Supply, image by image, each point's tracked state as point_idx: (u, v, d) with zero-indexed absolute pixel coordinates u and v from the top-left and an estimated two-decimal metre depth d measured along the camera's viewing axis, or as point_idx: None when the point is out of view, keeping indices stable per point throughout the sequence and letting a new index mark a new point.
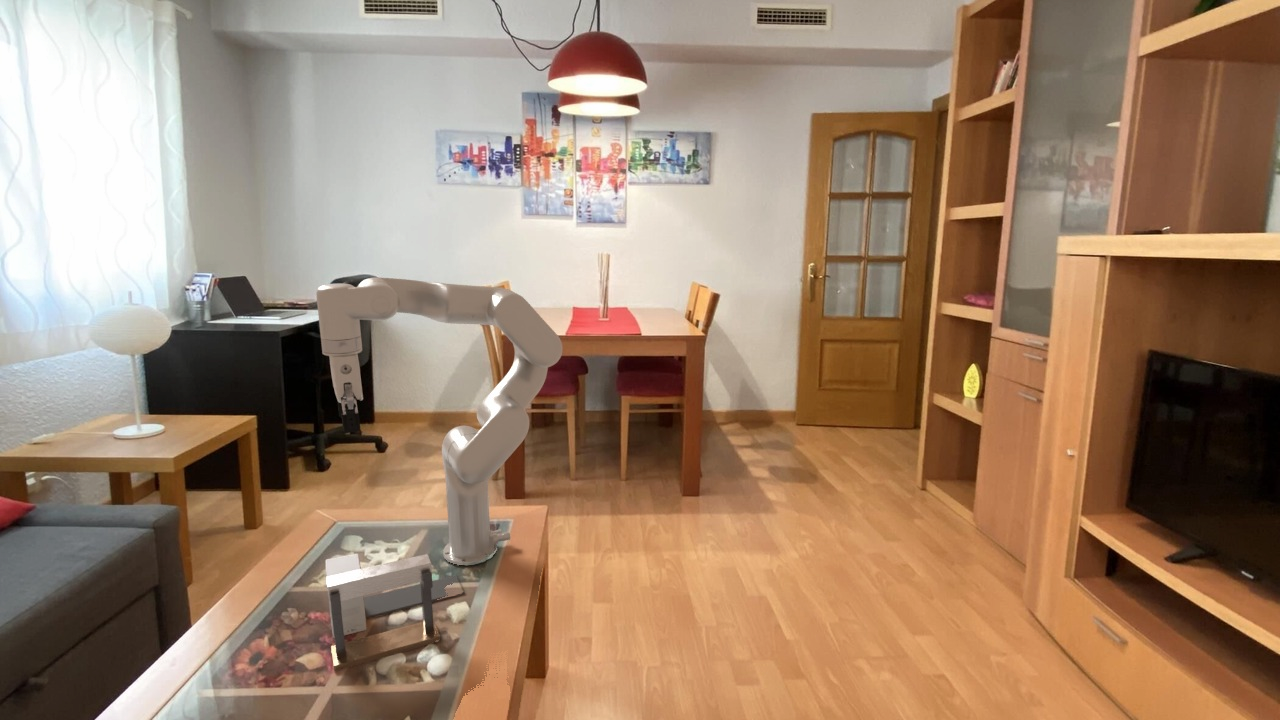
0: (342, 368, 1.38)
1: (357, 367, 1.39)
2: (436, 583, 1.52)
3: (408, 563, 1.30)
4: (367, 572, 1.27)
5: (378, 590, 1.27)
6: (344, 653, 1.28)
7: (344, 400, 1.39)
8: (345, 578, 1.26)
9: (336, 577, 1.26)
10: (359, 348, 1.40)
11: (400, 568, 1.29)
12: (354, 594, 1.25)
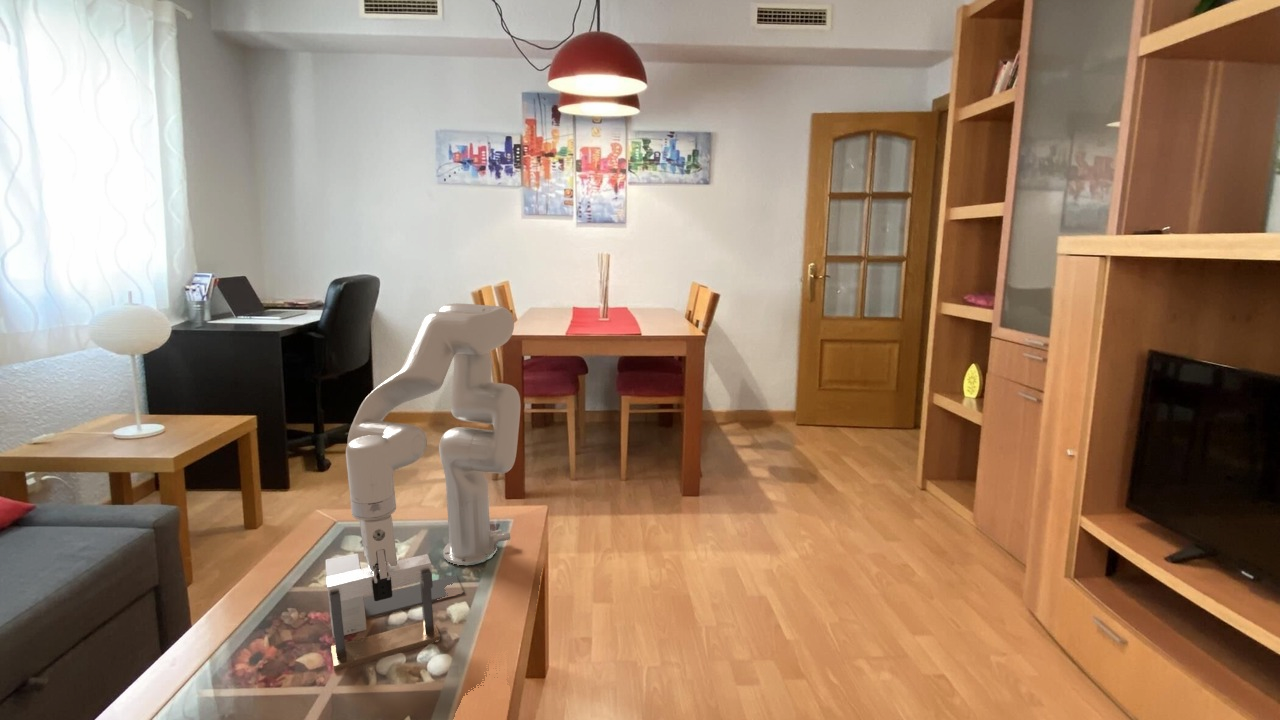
0: (374, 533, 1.22)
1: (391, 531, 1.23)
2: (436, 583, 1.52)
3: (408, 563, 1.30)
4: (367, 572, 1.27)
5: None
6: (344, 653, 1.28)
7: (376, 569, 1.25)
8: (345, 578, 1.26)
9: (336, 577, 1.26)
10: (393, 508, 1.25)
11: (400, 568, 1.29)
12: (354, 594, 1.25)
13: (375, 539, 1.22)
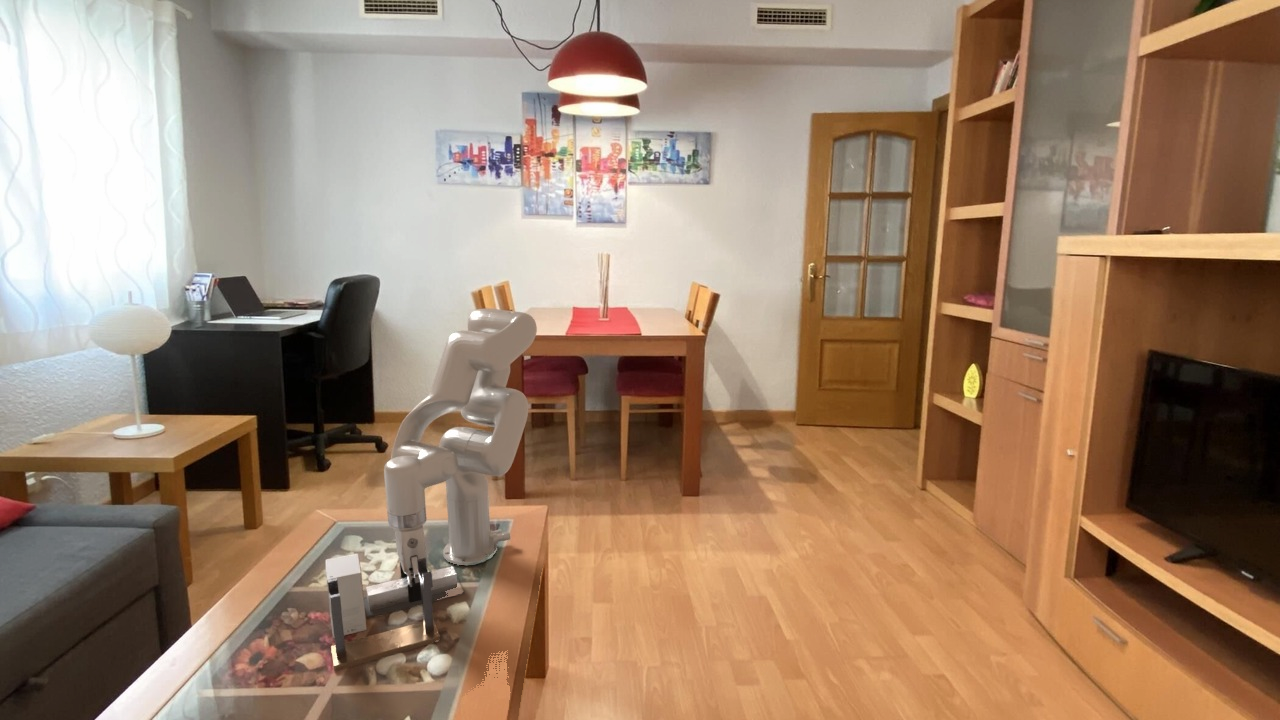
0: (408, 541, 1.40)
1: (423, 539, 1.41)
2: None
3: (436, 574, 1.49)
4: (402, 583, 1.46)
5: None
6: (344, 653, 1.28)
7: (410, 572, 1.42)
8: (383, 588, 1.44)
9: (375, 587, 1.44)
10: (424, 519, 1.43)
11: None
12: (391, 602, 1.44)
13: (409, 546, 1.40)
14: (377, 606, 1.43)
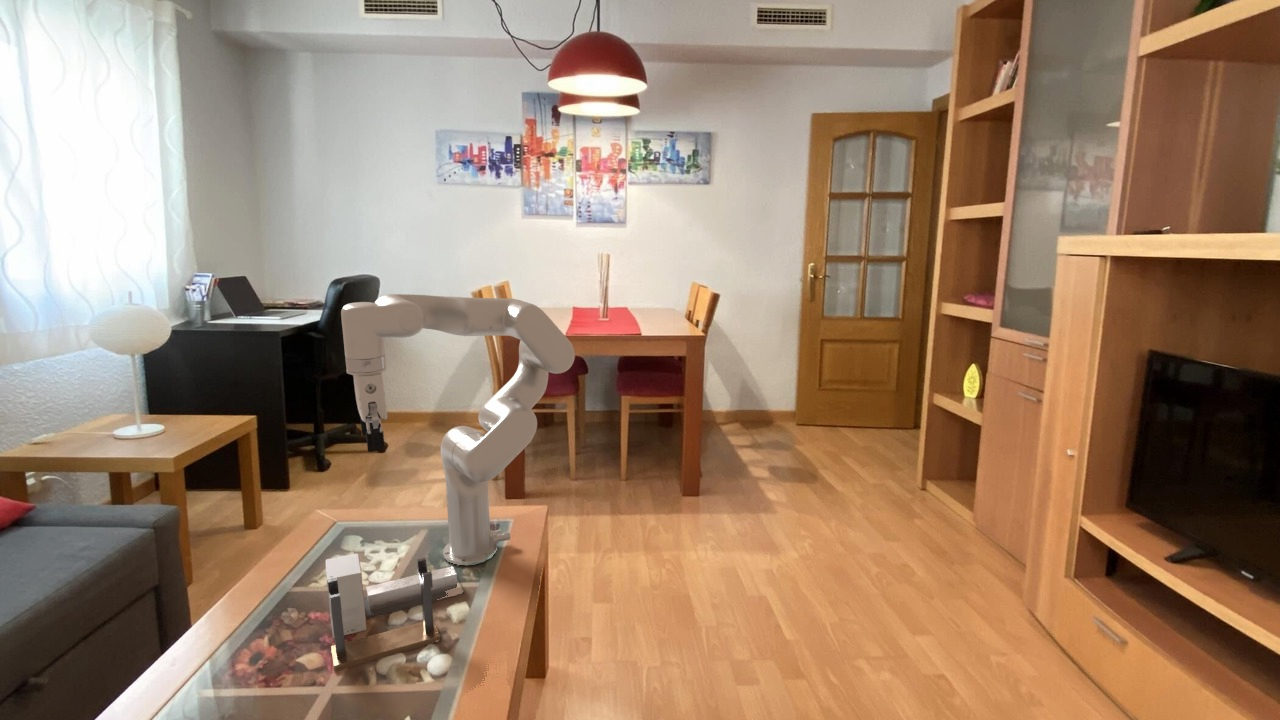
0: (367, 387, 1.38)
1: (382, 386, 1.38)
2: None
3: (436, 574, 1.49)
4: (402, 583, 1.46)
5: (411, 598, 1.46)
6: (344, 653, 1.28)
7: (369, 419, 1.38)
8: (383, 588, 1.44)
9: (375, 587, 1.44)
10: (383, 367, 1.40)
11: None
12: (391, 602, 1.44)
13: (367, 392, 1.37)
14: (377, 606, 1.43)
